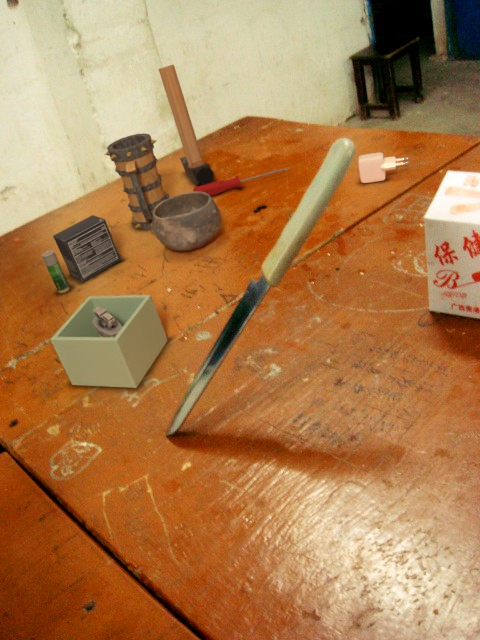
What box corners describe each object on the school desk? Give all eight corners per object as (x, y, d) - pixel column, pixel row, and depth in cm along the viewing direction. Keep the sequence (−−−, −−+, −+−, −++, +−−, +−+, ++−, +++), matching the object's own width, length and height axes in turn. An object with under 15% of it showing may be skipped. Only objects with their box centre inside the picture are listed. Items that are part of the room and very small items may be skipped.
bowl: (149, 254, 143) (135, 214, 137) (198, 223, 151) (187, 184, 145) (189, 266, 133) (176, 223, 128) (240, 232, 141) (229, 191, 136)
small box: (108, 254, 148) (92, 213, 143) (122, 260, 143) (106, 218, 138) (69, 275, 143) (51, 234, 138) (82, 283, 139) (64, 240, 133)
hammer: (186, 178, 185) (152, 71, 173) (202, 173, 185) (169, 66, 174) (198, 187, 166) (161, 67, 155) (216, 180, 167) (180, 61, 156)
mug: (179, 203, 164) (156, 127, 153) (180, 231, 150) (154, 149, 139) (131, 215, 165) (104, 141, 154) (127, 244, 150) (97, 164, 140)
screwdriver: (292, 176, 161) (289, 163, 159) (196, 202, 162) (193, 190, 160) (289, 172, 164) (287, 159, 162) (195, 197, 165) (192, 185, 163)
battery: (72, 287, 138) (55, 249, 133) (64, 294, 136) (46, 256, 131) (64, 286, 139) (47, 248, 134) (55, 293, 138) (38, 254, 133)
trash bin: (72, 385, 107) (49, 339, 102) (107, 339, 117) (88, 295, 112) (136, 387, 103) (116, 340, 97) (167, 340, 112) (151, 294, 107)
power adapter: (409, 170, 148) (407, 146, 145) (410, 178, 144) (408, 154, 141) (361, 177, 151) (358, 153, 148) (360, 185, 147) (357, 161, 144)
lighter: (103, 355, 112) (82, 308, 106) (119, 346, 113) (100, 299, 108) (124, 373, 106) (103, 324, 100) (141, 363, 107) (121, 314, 102)
